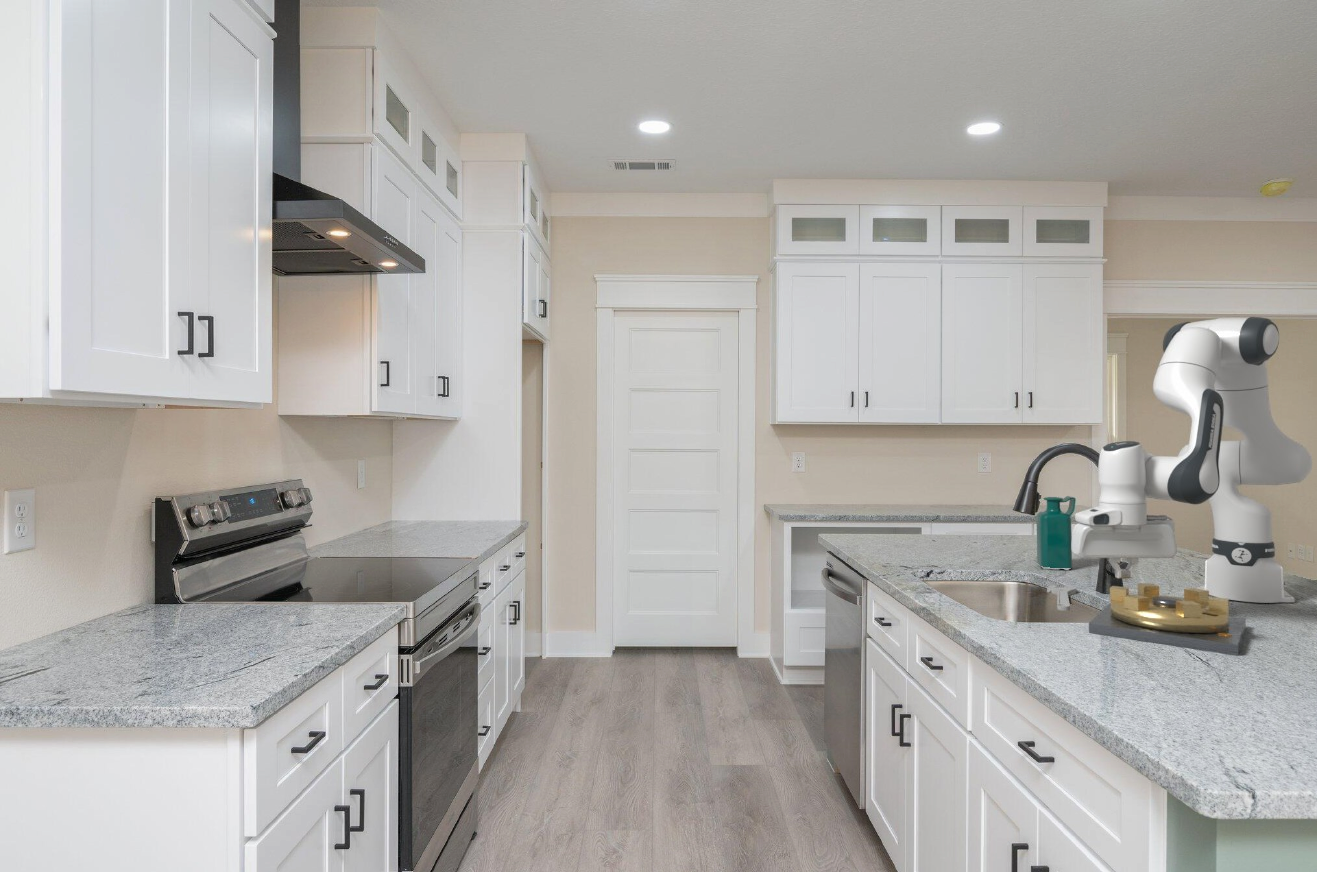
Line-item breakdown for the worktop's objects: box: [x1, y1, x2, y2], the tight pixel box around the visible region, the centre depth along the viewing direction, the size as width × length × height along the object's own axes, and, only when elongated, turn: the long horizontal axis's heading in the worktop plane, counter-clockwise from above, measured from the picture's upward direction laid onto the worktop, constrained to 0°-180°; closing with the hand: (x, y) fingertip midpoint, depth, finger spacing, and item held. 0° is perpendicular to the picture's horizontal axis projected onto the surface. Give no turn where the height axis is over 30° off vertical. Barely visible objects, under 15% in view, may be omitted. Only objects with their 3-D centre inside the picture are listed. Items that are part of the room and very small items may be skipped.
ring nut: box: [1109, 582, 1230, 633], centre depth 147 cm, size 20×20×6 cm
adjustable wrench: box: [1046, 584, 1077, 612], centre depth 176 cm, size 25×6×2 cm, turn 146°
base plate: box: [1088, 602, 1247, 656], centre depth 147 cm, size 24×24×2 cm
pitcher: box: [1036, 495, 1077, 569], centre depth 216 cm, size 10×8×22 cm
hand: (1123, 577), depth 155 cm, fingers closed
